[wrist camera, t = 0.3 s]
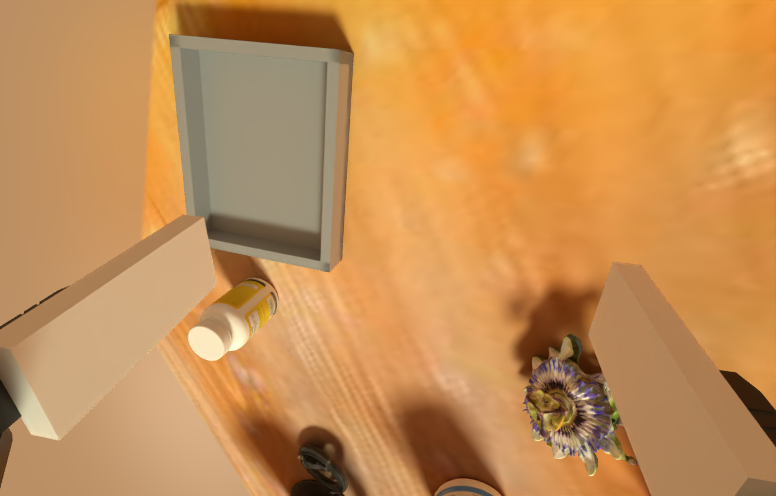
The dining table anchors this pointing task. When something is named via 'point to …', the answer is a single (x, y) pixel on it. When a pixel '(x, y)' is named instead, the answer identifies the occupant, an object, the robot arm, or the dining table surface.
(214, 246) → the tray
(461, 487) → the supplement tub
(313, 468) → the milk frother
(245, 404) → the dining table surface
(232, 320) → the supplement bottle
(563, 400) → the passion flower
